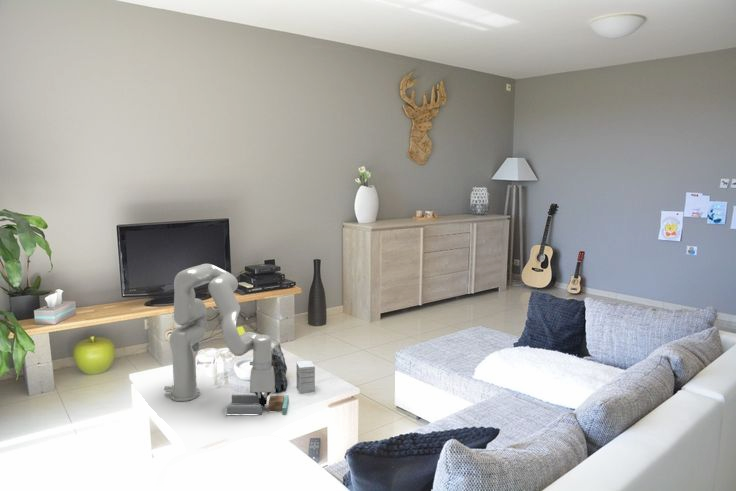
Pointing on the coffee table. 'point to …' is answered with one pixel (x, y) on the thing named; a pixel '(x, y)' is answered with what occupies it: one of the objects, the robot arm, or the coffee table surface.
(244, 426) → the coffee table surface
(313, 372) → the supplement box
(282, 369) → the stone block
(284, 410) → the bar
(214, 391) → the coffee table surface
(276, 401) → the walnut block
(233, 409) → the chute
